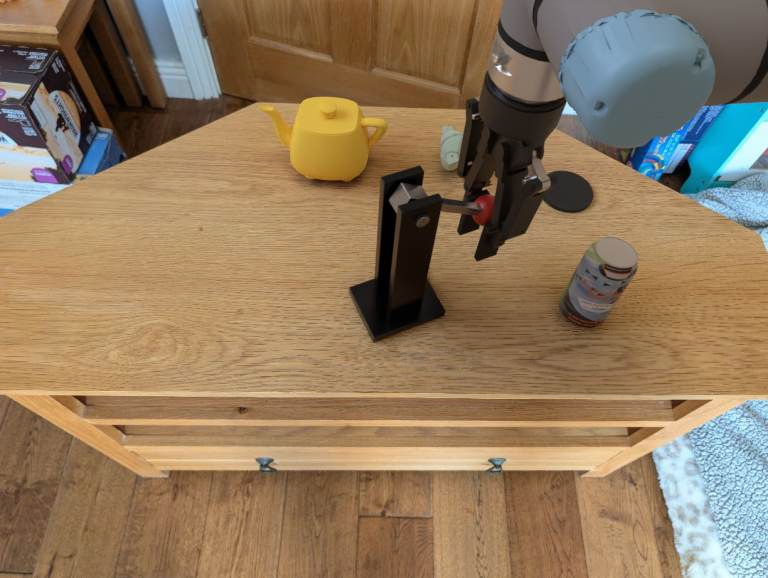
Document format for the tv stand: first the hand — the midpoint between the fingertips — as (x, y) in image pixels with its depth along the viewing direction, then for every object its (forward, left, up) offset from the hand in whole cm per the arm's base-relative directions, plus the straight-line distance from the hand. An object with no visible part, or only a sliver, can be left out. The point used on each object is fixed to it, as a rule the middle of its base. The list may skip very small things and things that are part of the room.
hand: (476, 242), depth 68 cm
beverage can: (-10, -12, -8) cm, 18 cm away
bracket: (0, +10, -8) cm, 13 cm away
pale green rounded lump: (+19, -8, -8) cm, 22 cm away
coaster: (+8, -22, -8) cm, 25 cm away
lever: (0, +6, +7) cm, 9 cm away
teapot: (+27, +9, -8) cm, 30 cm away
